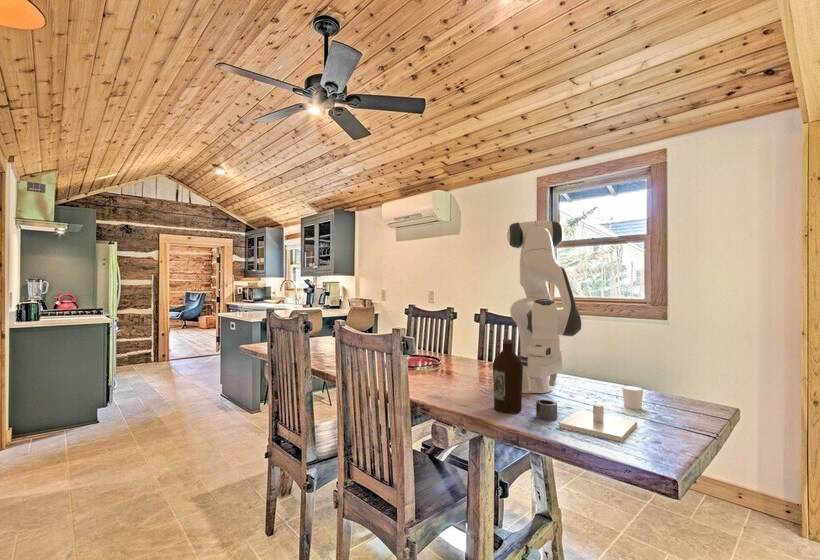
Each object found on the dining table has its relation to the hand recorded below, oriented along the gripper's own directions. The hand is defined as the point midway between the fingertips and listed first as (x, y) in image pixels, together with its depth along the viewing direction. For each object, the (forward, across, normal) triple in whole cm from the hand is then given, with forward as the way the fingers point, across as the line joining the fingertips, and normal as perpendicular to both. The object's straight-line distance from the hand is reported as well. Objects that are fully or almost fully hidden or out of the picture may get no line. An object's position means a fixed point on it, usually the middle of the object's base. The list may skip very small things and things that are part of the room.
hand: (546, 388), depth 138 cm
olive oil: (+10, +1, -14) cm, 17 cm away
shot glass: (+10, -32, +19) cm, 39 cm away
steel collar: (+10, 0, 0) cm, 10 cm away
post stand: (+10, -2, +16) cm, 19 cm away
